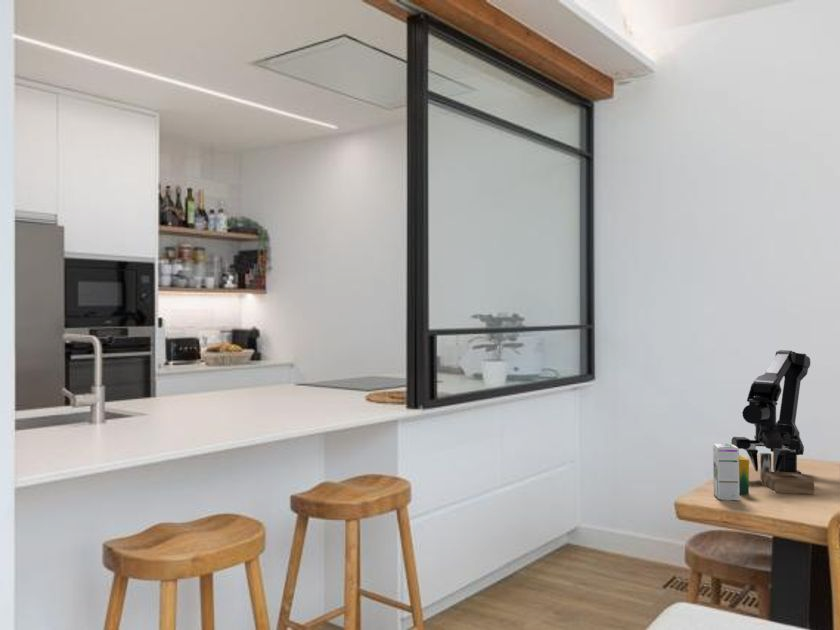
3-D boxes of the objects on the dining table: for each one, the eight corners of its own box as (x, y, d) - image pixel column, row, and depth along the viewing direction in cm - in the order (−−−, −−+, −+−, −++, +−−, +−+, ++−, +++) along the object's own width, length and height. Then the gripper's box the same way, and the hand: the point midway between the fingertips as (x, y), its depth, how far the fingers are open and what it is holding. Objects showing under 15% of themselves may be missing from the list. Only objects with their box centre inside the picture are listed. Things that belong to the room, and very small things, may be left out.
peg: (758, 478, 216) (758, 452, 216) (769, 478, 215) (769, 452, 216) (762, 480, 213) (762, 454, 213) (772, 480, 213) (772, 454, 213)
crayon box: (749, 495, 195) (749, 453, 195) (738, 494, 196) (738, 453, 196) (740, 488, 202) (740, 448, 203) (729, 488, 203) (729, 448, 203)
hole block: (761, 483, 210) (761, 471, 210) (796, 484, 208) (796, 472, 208) (776, 492, 198) (776, 480, 198) (813, 494, 196) (813, 481, 196)
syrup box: (740, 501, 188) (740, 447, 189) (717, 499, 190) (716, 446, 190) (735, 495, 194) (735, 443, 194) (712, 494, 195) (712, 443, 195)
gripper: (742, 423, 208) (742, 476, 207) (809, 425, 205) (809, 478, 205) (730, 418, 219) (730, 468, 218) (793, 419, 216) (793, 470, 216)
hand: (765, 471), depth 214 cm, fingers open, 5 cm apart
